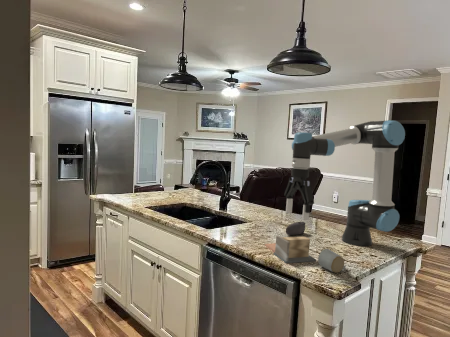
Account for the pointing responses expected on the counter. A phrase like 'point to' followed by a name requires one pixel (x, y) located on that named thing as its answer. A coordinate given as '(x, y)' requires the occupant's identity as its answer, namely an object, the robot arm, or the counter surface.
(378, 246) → the counter surface
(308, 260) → the slate mat
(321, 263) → the ceramic mug
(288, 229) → the perforated stone tool
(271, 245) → the terracotta tile
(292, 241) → the tan rectangular block
